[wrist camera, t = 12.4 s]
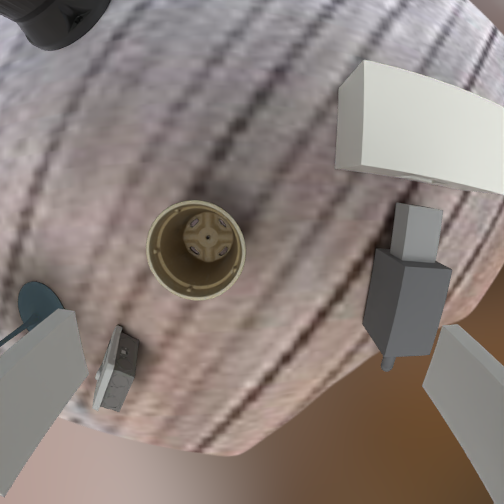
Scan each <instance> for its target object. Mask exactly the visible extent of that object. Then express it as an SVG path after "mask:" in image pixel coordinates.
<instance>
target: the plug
mask: <svg viewBox="0 0 504 504" xmlns="http://www.w3.org/2000/svg"><path fill="white" fill-rule="evenodd" d="M442 215H443V210H439V209H434V208H429V207H423V206H417V205H410V204H403V203H396V210H395V219H394V227H393V234H392V242H391V248H390V249H380V248H376V252H375V259H374V265H373V272H372V278H371V283H370V289H369V294H368V300H367V305H366V310H365V315H364V319H363V326H364V327H365V329H366V330H367V332H368V333H369V335H370V336H371V338H372V339H373V341H374V342H375V344H376V345H377V347H378V348H379V350H380V351H381V353H382V354H383V360H382V363H381V368H382V370H383V371H389V370H391V369H392V368H393V364H394V361H395V358H396V357H399V356H419V355H430V352H431V349H432V346H433V343H434V339H435V336H436V333H437V329H438V326H439V322H440V319H441V315H442V311H443V308H444V304H445V300H446V296H447V291H448V287H449V283H450V278H451V273H452V269H450V268H448V267H446V266H444V265H442V264H440V263H439V262H437V261H436V256H437V250H438V244H439V237H440V230H441V223H442Z"/></svg>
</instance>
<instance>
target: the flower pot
mask: <svg viewBox="0 0 504 504" xmlns="http://www.w3.org/2000/svg"><path fill="white" fill-rule="evenodd" d="M195 219H198V220H199V221H198V222H197V223H196V224H195V225H194V226H193V227H191V226H190V224H191V222H193V221H194V220H195ZM220 219H221V220H222V221H223V222H224V223H225V224H226V227H224V225H221V222H220V221H219V220H220ZM207 236H209V237H210V239H207V238H206V237H207ZM190 247H194V248H195V250H196V251H197V252H198V253H199V255H198V254H196V253H194V252H193V251H192V250H191V249H190ZM225 247H227V248H228V250H227V252H226V253H225V254H224V255H219V253H221V252H222V251H223V250H224V249H225ZM146 255H147V260H148V264H149V267H150V269H151V271H152V273H153V274H154V276H155V278H156V279H157V280H158V281H159V283H160V284H161V285H162V286H163V287H165V288H166V289H167V290H168V291H170V292H171V293H173V294H175V295H177V296H179V297H181V298H185V299H190V300H207V299H211V298H214V297H217V296H219V295H221V294H223V293H224V292H226V291H227V290H228V289H230V287H231V286H232V285H233V284H234V283H235V282H236V280H237V279H238V278H239V276H240V274H241V272H242V269H243V267H244V263H245V257H246V246H245V241H244V237H243V234H242V232H241V230H240V228H239V226H238V224H237V223H236V221H235V220H234V219H233V218H232V217H231V215H230V214H228V213H227V212H226V211H225V210H223V209H222V208H220V207H218V206H217V205H215V204H212V203H209V202H205V201H199V200H189V201H183V202H179V203H176V204H174V205H172V206H170V207H168V208H167V209H166V210H164V211H163V212H162V213H161V214H160V215H159V216H158V217H157V218H156V220H155V221H154V222H153V224H152V226H151V228H150V230H149V233H148V237H147V242H146Z"/></svg>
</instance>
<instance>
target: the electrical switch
mask: <svg viewBox="0 0 504 504" xmlns="http://www.w3.org/2000/svg"><path fill="white" fill-rule="evenodd" d="M122 328H123V327H121V326H118V325H117V326H116V327H115V329H114V332H113V334H112V337H111V340H110V342H109V345H108V348H107V351H106V354H105V356H104V359H103V362H102V365H101V366H100V368H99V370H98V372H97V374H96V377H95V379H96V380H97V384H96V389H95V393H94V399H93V409H95V410H97V411H98V410H99V408H100V407H104V408H107V409H112V410H115V411H117V412H119V411H120V409H121V407H122V405H123V402H124V400H125V398H126V395H127V393H128V391H129V389H130V386H131V384H132V382H133V380H134V378H135V377H134V376H135V370H136V361H137V353H138V345H139V340H137V339H134V338H132V337H130V336H128V335H126V334H124V333H122V332H121V331H122ZM128 374H129V375H128ZM131 375H132V376H131Z"/></svg>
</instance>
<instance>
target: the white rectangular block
mask: <svg viewBox="0 0 504 504" xmlns="http://www.w3.org/2000/svg"><path fill="white" fill-rule="evenodd" d="M335 169H340V170H348V171H355V172H362V173H369V174H376V175H382V176H388V177H394V178H400V179H406V180H411V181H417V182H422V183H427V184H433V185H437V186H442V187H447V188H452V189H456V190H464V191H474V192H482V193H491V194H499V195H504V107H503V106H501V105H499V104H496V103H494V102H492V101H490V100H488V99H485V98H483V97H481V96H478V95H476V94H474V93H471V92H469V91H466V90H464V89H461V88H459V87H456V86H453V85H451V84H448V83H445V82H442V81H439V80H436V79H433V78H430V77H427V76H424V75H421V74H418V73H414V72H411V71H407V70H404V69H400V68H397V67H393V66H389V65H385V64H381V63H377V62H372V61H368V60H363V61H362V62H361V63H360V65H359V66H358V67H357V68H356V69H355V70H354V71H353V72H352V74H351V75H350V76H349V77H348V78H347V79H346V81H345V82H344V83H343V84H342V85H341V86H340V87H339V92H338V120H337V140H336V156H335Z"/></svg>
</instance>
